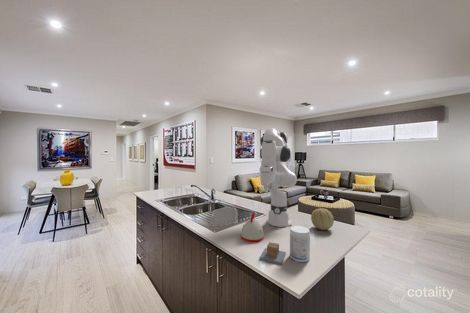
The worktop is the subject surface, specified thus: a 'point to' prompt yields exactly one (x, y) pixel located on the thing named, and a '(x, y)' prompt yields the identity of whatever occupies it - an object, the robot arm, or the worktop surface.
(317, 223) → the cantaloupe
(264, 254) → the slate coaster
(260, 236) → the kitchen timer
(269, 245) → the walnut block
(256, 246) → the worktop surface
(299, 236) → the supplement tub
